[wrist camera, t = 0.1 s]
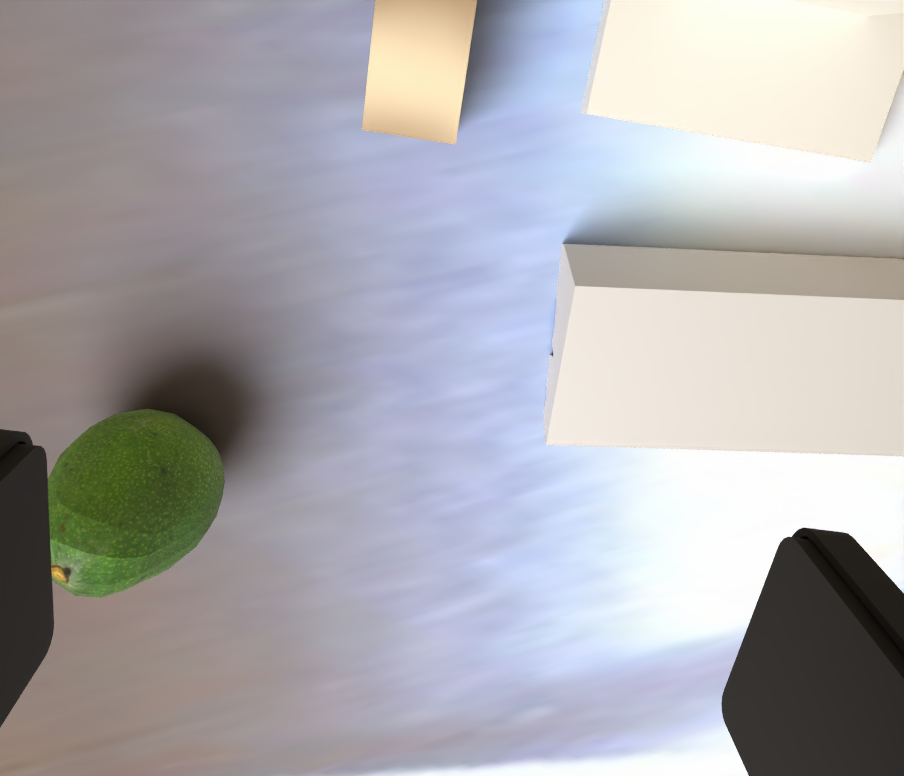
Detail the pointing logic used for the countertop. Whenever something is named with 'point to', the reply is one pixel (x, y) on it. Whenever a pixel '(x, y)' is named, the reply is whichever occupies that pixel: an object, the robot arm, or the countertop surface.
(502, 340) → the countertop surface
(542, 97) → the countertop surface
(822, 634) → the robot arm
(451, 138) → the beech batten
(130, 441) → the fruit
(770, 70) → the balance stand
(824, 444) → the white flat block
